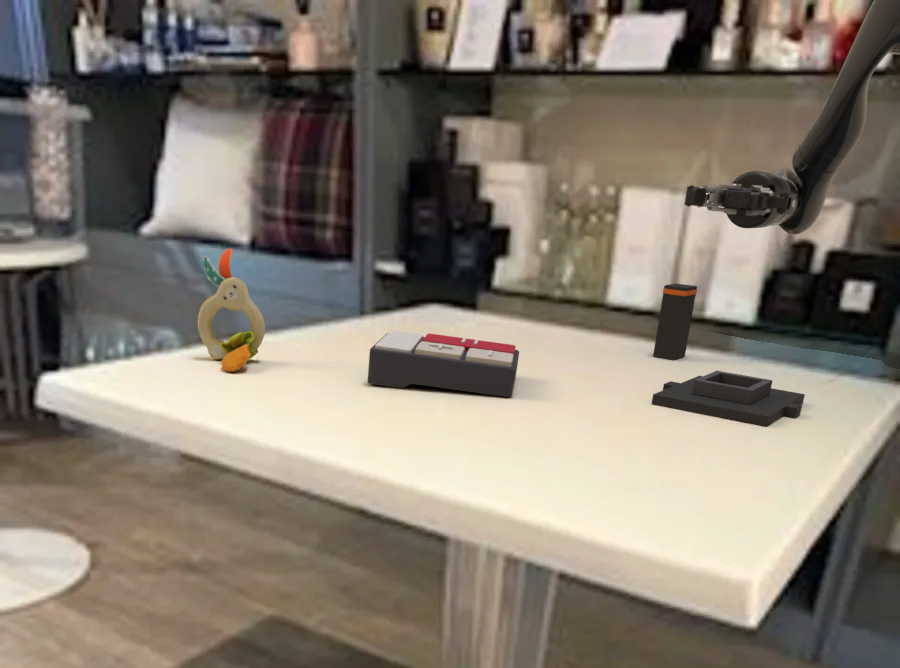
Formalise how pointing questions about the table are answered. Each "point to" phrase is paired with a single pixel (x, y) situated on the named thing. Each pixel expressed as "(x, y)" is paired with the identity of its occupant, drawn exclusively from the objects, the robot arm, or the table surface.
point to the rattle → (232, 298)
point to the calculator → (443, 363)
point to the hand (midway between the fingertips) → (723, 199)
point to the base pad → (731, 398)
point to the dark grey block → (674, 321)
